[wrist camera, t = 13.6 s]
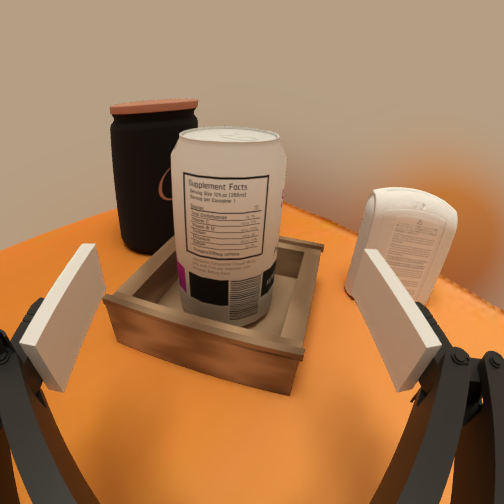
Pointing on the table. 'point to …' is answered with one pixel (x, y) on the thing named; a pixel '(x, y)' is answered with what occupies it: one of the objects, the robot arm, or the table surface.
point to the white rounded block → (406, 237)
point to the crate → (217, 333)
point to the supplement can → (227, 220)
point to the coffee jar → (147, 167)
